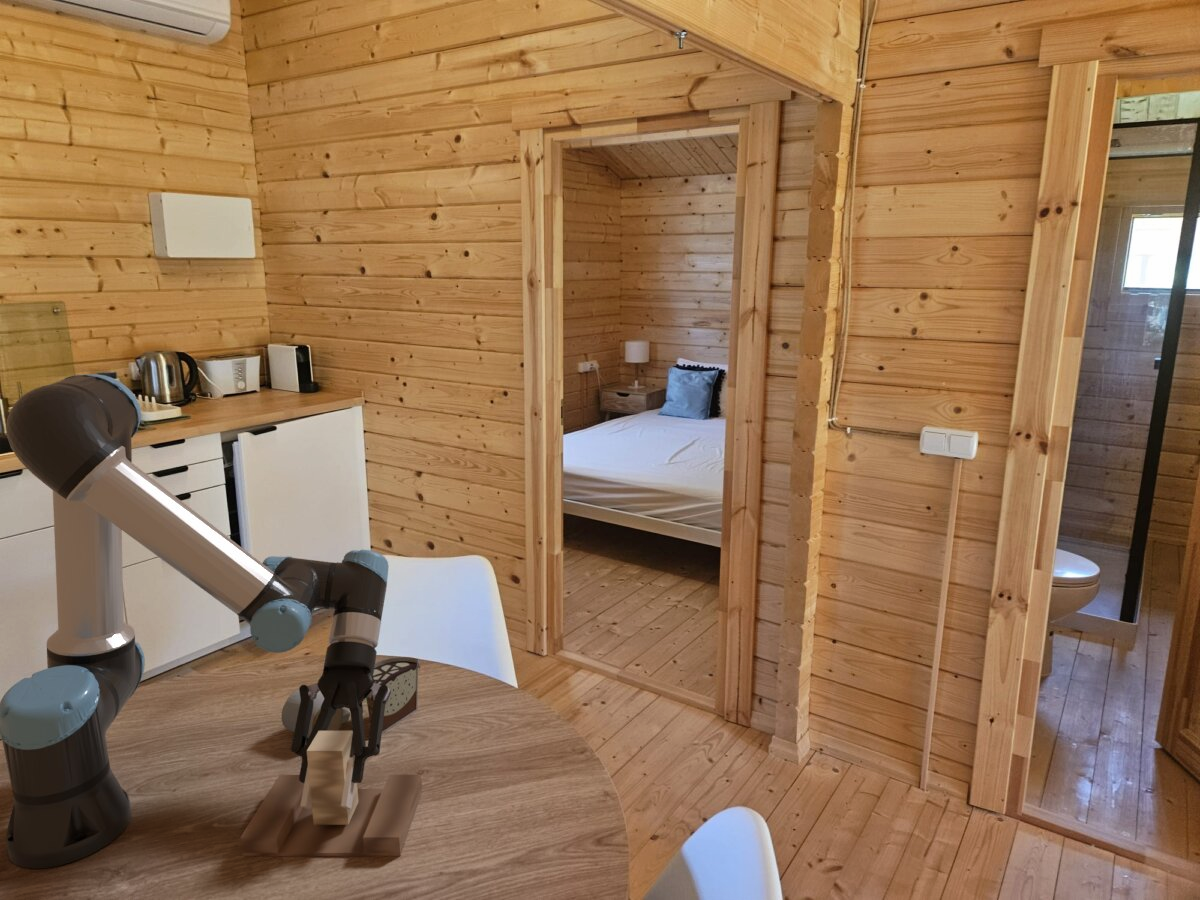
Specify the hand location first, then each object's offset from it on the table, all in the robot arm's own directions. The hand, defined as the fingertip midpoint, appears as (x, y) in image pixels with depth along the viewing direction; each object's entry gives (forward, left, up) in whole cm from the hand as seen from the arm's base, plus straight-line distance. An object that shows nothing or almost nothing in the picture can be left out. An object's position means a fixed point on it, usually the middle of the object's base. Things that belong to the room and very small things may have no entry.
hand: (326, 807), depth 114 cm
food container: (0, +32, -5) cm, 32 cm away
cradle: (0, +4, -5) cm, 6 cm away
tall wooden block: (0, +4, -4) cm, 5 cm away
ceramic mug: (-11, +28, -6) cm, 30 cm away
